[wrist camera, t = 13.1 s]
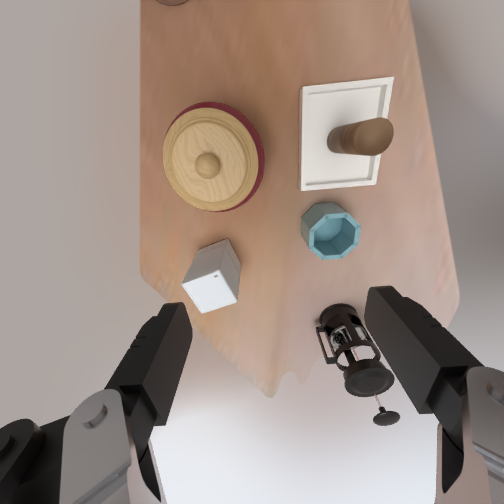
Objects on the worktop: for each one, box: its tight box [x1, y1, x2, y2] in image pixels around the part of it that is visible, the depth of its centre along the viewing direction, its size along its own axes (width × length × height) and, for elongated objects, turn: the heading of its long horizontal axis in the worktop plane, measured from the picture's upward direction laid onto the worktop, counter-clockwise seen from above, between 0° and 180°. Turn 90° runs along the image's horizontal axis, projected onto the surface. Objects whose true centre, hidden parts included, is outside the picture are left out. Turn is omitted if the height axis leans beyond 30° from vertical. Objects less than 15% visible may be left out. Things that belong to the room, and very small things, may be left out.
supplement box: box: [181, 239, 241, 313], centre depth 42 cm, size 7×7×13 cm
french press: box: [316, 304, 400, 426], centre depth 45 cm, size 12×9×23 cm
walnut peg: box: [327, 117, 393, 156], centre depth 30 cm, size 4×4×12 cm
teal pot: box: [301, 202, 361, 260], centre depth 40 cm, size 9×9×7 cm
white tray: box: [298, 77, 394, 191], centre depth 35 cm, size 15×13×2 cm
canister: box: [163, 102, 265, 212], centre depth 30 cm, size 13×13×18 cm
